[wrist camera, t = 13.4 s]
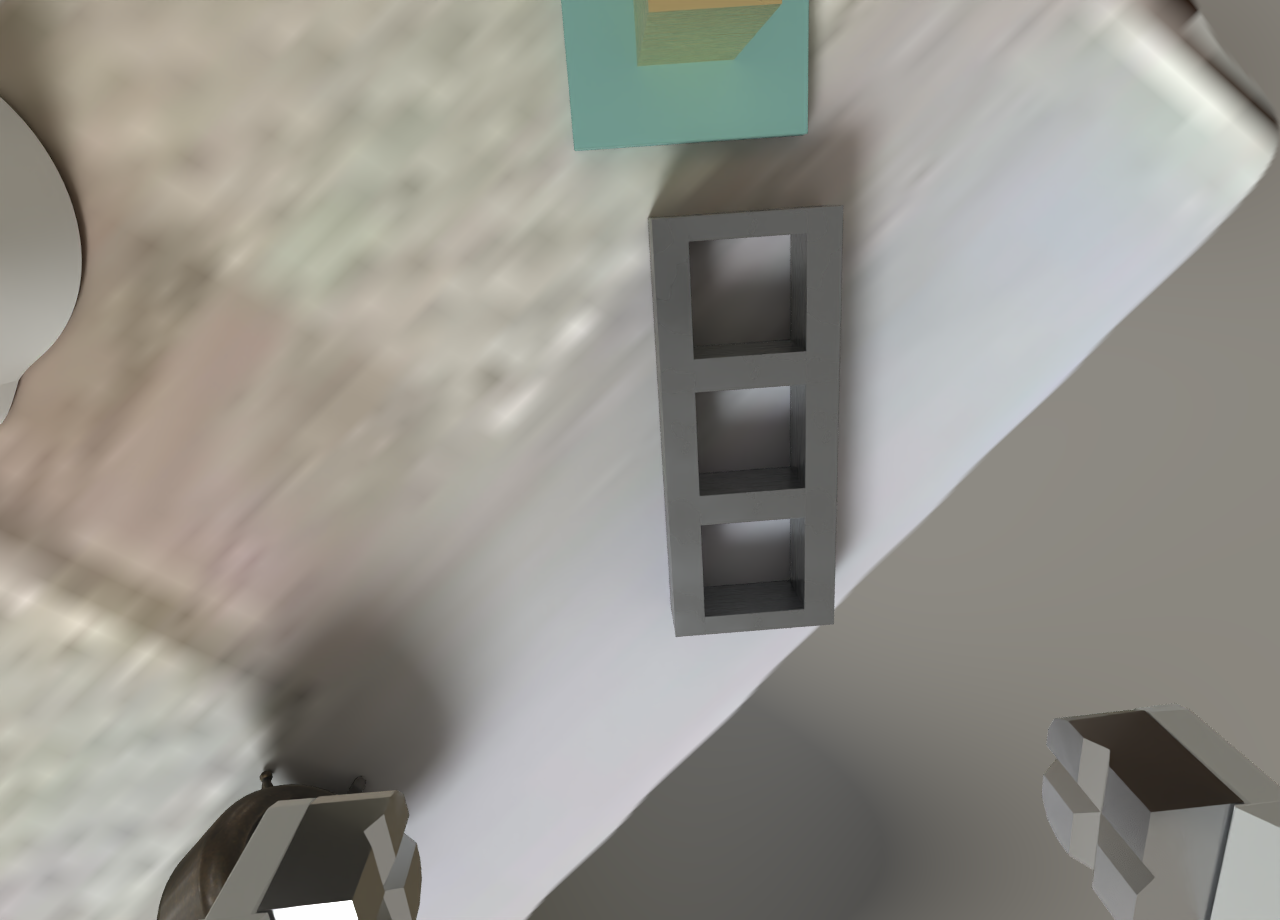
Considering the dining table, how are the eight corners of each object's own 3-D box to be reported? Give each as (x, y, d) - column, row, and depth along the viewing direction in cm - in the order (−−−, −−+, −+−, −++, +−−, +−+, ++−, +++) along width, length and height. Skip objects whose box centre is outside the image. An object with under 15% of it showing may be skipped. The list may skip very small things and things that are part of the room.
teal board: (575, 151, 32) (574, 149, 31) (551, -123, 29) (549, -134, 28) (801, 135, 33) (807, 133, 32) (803, -139, 29) (809, -151, 28)
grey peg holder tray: (670, 606, 40) (675, 637, 37) (647, 218, 33) (651, 219, 31) (817, 594, 40) (833, 624, 37) (823, 205, 34) (843, 205, 31)
